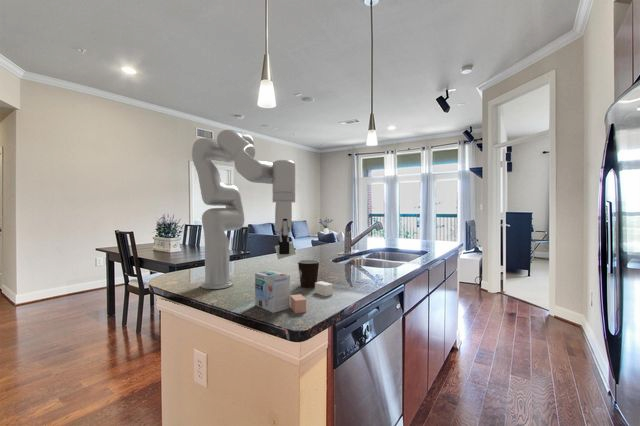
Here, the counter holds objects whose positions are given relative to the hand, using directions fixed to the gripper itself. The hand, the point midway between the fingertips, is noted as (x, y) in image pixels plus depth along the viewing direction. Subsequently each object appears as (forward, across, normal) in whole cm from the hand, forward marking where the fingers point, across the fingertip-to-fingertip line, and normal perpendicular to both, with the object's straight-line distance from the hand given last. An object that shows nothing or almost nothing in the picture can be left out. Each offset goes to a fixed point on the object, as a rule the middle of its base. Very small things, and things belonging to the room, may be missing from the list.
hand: (283, 252), depth 103 cm
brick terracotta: (+17, +7, +4) cm, 19 cm away
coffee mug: (+17, -22, +12) cm, 30 cm away
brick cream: (+17, -9, +16) cm, 25 cm away
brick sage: (+1, 0, +1) cm, 1 cm away
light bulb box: (+17, +3, -4) cm, 18 cm away
